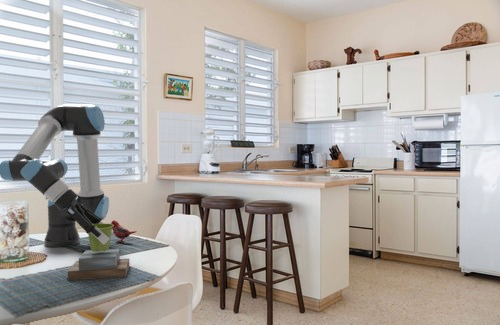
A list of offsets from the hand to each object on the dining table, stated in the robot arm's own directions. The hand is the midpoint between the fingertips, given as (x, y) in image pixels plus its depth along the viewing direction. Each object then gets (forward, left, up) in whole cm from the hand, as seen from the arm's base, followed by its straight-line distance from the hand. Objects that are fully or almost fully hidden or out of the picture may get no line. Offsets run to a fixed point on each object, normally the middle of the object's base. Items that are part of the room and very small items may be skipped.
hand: (109, 238), depth 147 cm
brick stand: (0, -3, -12) cm, 13 cm away
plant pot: (0, -3, -4) cm, 5 cm away
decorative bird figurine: (-47, 0, -12) cm, 49 cm away
